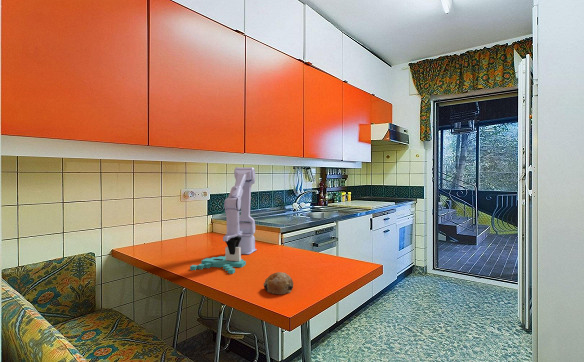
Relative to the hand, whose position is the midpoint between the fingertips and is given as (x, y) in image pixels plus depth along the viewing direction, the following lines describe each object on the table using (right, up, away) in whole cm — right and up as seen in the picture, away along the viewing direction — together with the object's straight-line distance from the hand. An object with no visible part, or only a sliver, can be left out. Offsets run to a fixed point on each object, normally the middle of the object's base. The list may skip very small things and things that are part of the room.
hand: (233, 253), depth 145 cm
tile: (0, -3, 0) cm, 3 cm away
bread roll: (+22, -6, -31) cm, 39 cm away
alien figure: (-5, -6, -1) cm, 7 cm away
